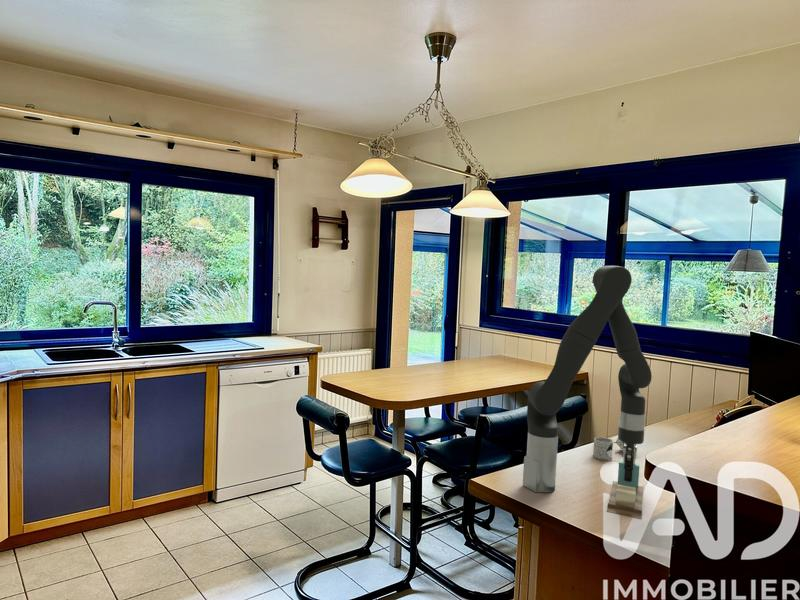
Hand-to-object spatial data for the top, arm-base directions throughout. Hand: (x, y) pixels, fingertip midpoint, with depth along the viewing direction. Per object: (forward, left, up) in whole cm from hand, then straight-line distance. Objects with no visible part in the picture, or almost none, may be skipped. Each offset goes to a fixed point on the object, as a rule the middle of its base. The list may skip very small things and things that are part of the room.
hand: (628, 479), depth 167 cm
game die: (+32, +26, -3) cm, 41 cm away
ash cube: (-15, -11, -2) cm, 18 cm away
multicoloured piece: (-10, -7, -3) cm, 12 cm away
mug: (+19, +26, -3) cm, 32 cm away
